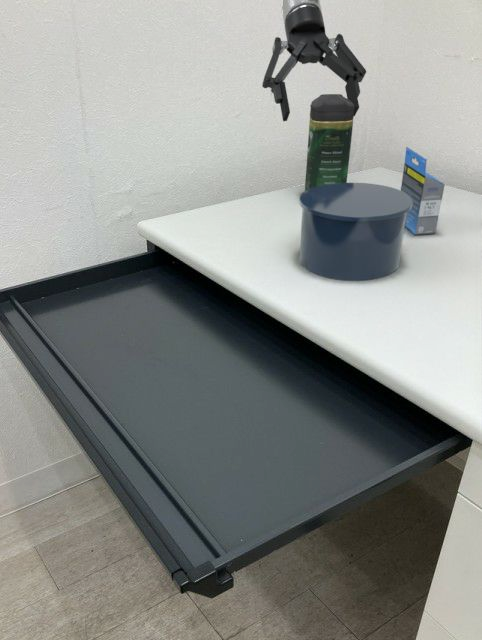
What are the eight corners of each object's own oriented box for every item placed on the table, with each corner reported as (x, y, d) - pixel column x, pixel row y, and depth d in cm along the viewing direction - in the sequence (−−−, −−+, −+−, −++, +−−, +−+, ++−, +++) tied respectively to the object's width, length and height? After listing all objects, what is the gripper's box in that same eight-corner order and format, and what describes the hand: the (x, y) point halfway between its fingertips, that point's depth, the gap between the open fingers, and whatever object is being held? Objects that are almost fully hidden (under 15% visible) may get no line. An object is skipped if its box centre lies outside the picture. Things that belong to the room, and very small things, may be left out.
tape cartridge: (436, 234, 99) (451, 158, 92) (414, 235, 99) (426, 159, 92) (416, 216, 107) (428, 144, 100) (394, 218, 106) (405, 146, 99)
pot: (388, 239, 98) (396, 181, 93) (415, 280, 85) (427, 215, 79) (291, 242, 99) (294, 184, 93) (302, 283, 85) (306, 218, 80)
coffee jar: (347, 205, 113) (358, 99, 103) (305, 205, 114) (312, 100, 103) (342, 190, 121) (352, 90, 111) (303, 190, 122) (309, 91, 111)
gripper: (356, 30, 123) (376, 121, 119) (238, 36, 120) (254, 130, 116) (369, 0, 115) (390, 97, 111) (244, 6, 113) (260, 106, 109)
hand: (321, 114), depth 114 cm, fingers open, 13 cm apart
